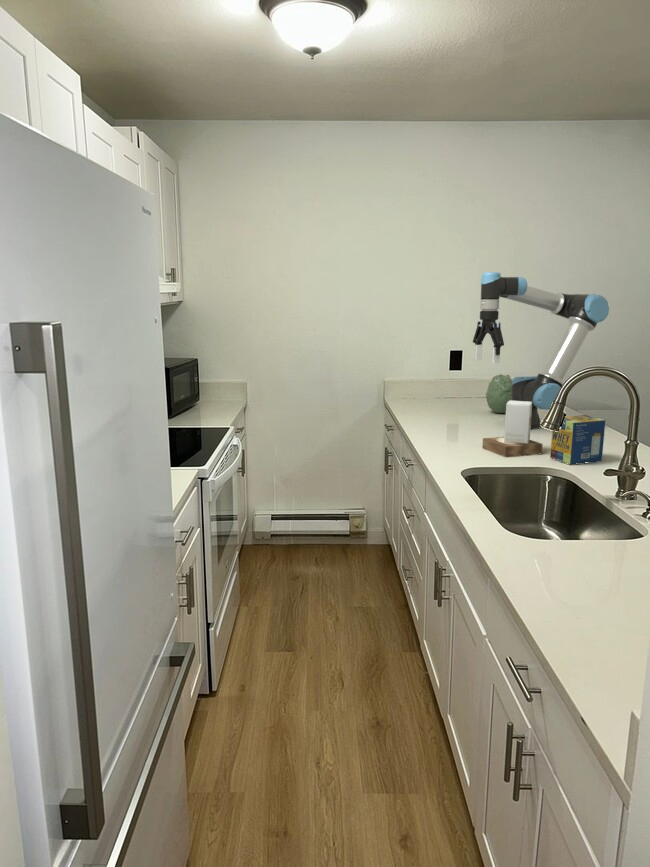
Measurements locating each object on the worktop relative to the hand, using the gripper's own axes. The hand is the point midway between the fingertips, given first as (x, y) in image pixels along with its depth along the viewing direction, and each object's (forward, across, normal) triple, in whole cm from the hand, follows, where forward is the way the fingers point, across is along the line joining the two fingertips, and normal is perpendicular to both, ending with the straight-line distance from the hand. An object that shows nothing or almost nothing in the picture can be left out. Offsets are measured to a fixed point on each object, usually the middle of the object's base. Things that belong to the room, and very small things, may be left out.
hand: (487, 361), depth 287 cm
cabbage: (+32, -46, +38) cm, 68 cm away
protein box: (+32, +50, +8) cm, 60 cm away
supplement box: (+28, +32, -5) cm, 42 cm away
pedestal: (+32, +30, -6) cm, 44 cm away
